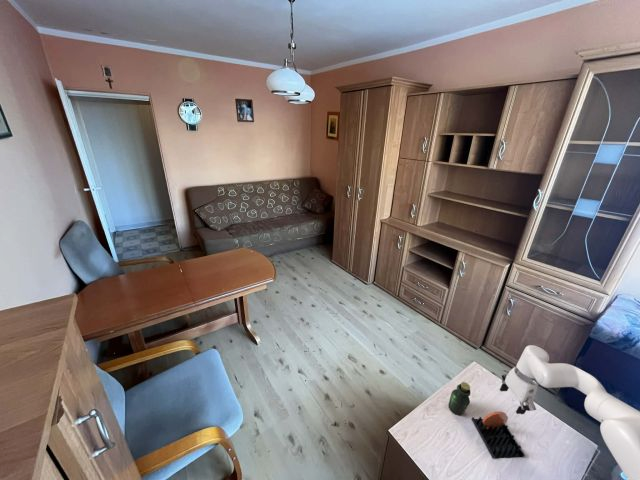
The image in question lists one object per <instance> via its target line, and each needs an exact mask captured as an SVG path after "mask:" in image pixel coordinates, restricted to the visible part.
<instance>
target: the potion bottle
mask: <svg viewBox="0 0 640 480" xmlns="http://www.w3.org/2000/svg"><path fill="white" fill-rule="evenodd" d="M470 396H471V386H470V384H469V383H468V382H466V381H462V382H461V383H460V384H458V385H457V386H456V388H454V389H453V390H452V391H451V393H450V396H449V401H448V404H447V406H448V409H449V411H450V412H451V413H452V414H453V415H455V416H457V417H459V416H462V415H463V413H465V411H466V410H467V408H468V407H469V405H470V403H471V400H470Z"/></svg>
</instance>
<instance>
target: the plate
mask: <svg viewBox="0 0 640 480" xmlns="http://www.w3.org/2000/svg"><path fill="white" fill-rule="evenodd" d="M508 417H509V416H508V415H507V413H505V412H503V411H494V412H490V413H489V414H487V415H485V416H484V417H483V418H482V419H483V420H482V423H483V425H484V426H487V429H489V427H490V426H492V429H494V428H495V426H497V427H500V426H501V425H503V424H505V425H506V424H507V422H508V420H509V418H508Z"/></svg>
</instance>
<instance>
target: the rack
mask: <svg viewBox="0 0 640 480" xmlns="http://www.w3.org/2000/svg"><path fill="white" fill-rule="evenodd" d="M482 420H483V418H482V416H479V417H478V418H475V417H473V416H472V417H471V421H472V423H473V425H474V427H475V429H476V430H477V432H478V434H479V436H480V438H481V440H482V442H483V444H484V446H485V447H486V449H487V451H488V453H489V455H490V456H491V457H490V458H492V459H495V460H496V459H517V458H518V459H520V458H521V459H522V458H525V457H526V454H525V453H524V452H523V450H522V446H521V445H519V444H518V442H517V440H516V439H515V435H514V434H512V433H511V431H510V429H509V425H507V424H506V423H505V424H503V425H501V426H500V427H497V426H495V428H494V429H492V426H490V427H489V429H487V426H484V425H483V423H482Z"/></svg>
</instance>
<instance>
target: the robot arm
mask: <svg viewBox="0 0 640 480" xmlns="http://www.w3.org/2000/svg"><path fill="white" fill-rule="evenodd" d="M549 362H550V355H549V353H548V352H547V351H546V350H545V349H543V348H542V347H540V346H537V345H534V344H529V345H527V346H525V348H524V349H523V351H522V353H521V355H520V357H519V359H518V360H517V363H516V365H515V366H514V367H512V369H510V370H509V371H508V370H506V369H502V370H501V385H500V388H499V392H508V391H509V390H510V392H511V393H512V394H513V395H514V397H515V398H516V399H517V400H518V401H519V405H518V406H517V408H516V410H515V413H516V414H517V415H525V413H526V412H532V411H533V412H534V411H537V407H536V405H535V403H534V400H535V398H536V395H537V392H538V387H539V385H540V386H541V387H542V388H543V387H544V388H547V389H553V388H574V389H576V390H577V391H580V392H581V393H583V394H584V395H586V397H585V399H584V402H583V403H584V404H583V406H584V409H585V411H586V413H587V414H588V415H589V416H590V417H592V418H593V419H595V420H596V421H598V422H599V423H600V427H599V430H600V435H601V437H602V439H603V441H604V443H605V445H606V447H607V449H608V451H609V452H610V453H611V455H612V456H613V458H614V460H615V461H616V463H617V464H618V467H619V468H620V469H621V471H622V472H623V474H624V476H625V478H626V479H627V480H640V410H638V409H636V408H634V407H632V406H631V405H629V404H628V403H626V402H624V401H622V400H621V399H619V398H617V397H615V396H614V395H612V394H610V393H608V392H607V390H606V388H605V387H604V385H602V384H601V382H600V381H599V380H598V379H597V378H596V377H595V376H593V375H592V374H590V373H588V372H586V371H584V370H582V369H581V368H579V367H577V366H575V365H572V364H570V363H564V362H558V363H557V362H555V363H553V362H552V363H549Z"/></svg>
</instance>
